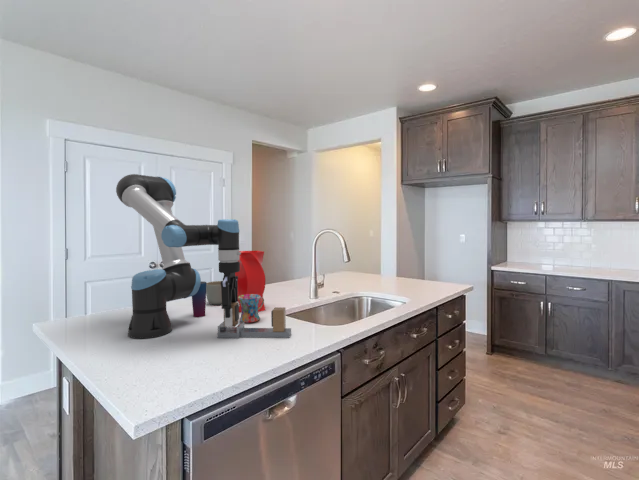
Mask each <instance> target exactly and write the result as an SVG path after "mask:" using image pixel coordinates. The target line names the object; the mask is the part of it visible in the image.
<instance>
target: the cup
mask: <svg viewBox="0 0 639 480" xmlns="http://www.w3.org/2000/svg"><path fill="white" fill-rule="evenodd" d="M207 283H208V282H207V281H201V284H200V287H199V290H198V292H197V293H196V294H195V295H193V296H191V304H192V312H193V313H192V315H193V317H194V318H202V317H205V316H206V305H207V304H206V303H207V296H206V284H207Z"/></svg>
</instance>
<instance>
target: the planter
mask: <svg viewBox="0 0 639 480" xmlns="http://www.w3.org/2000/svg"><path fill="white" fill-rule="evenodd" d="M221 281H222V280H215V281H208V282H207V284H206V302H208V303H209V304H211V305H212V306H220V305H221V306H222V293H221Z"/></svg>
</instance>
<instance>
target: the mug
mask: <svg viewBox="0 0 639 480" xmlns="http://www.w3.org/2000/svg"><path fill="white" fill-rule="evenodd" d="M238 298H239V300H240V303H241V308H242V313H241V312H240V313H241V315H240V316H239V321H240V323H241V322H242V321H244V324H246V323H247V324H250V323H256V322H258V321H260V319H261V317H260V315H259V312H258V310H259V309H260V308H261V307H262V305H263V303H264V304H265V299H264V297H263V298H262V297H261V296H260V295H257V294H246V295H241V296H239V297H238ZM260 298H262V299H263V302H262V304H261V306H260V307H259V308H258V303H259V299H260Z"/></svg>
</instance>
